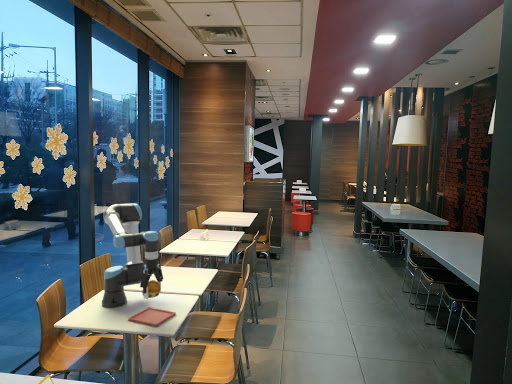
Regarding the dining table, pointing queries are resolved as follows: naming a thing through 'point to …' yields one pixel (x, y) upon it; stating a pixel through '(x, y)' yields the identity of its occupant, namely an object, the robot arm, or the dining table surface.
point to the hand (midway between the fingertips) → (152, 295)
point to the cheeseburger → (153, 289)
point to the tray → (152, 316)
